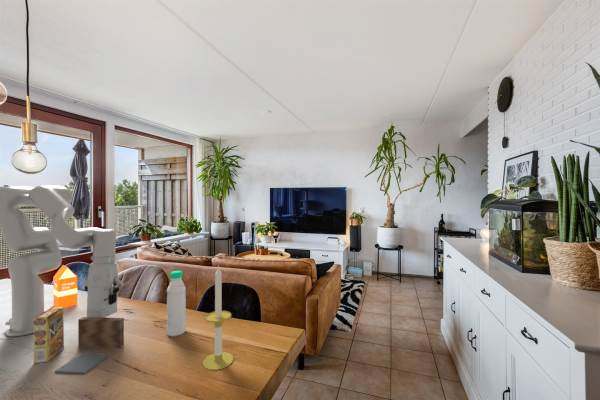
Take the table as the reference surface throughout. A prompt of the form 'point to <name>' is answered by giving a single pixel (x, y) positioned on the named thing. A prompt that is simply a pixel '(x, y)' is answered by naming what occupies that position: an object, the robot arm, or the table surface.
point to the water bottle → (176, 305)
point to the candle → (218, 329)
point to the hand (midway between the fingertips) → (102, 302)
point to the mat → (82, 363)
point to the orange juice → (65, 288)
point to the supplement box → (100, 302)
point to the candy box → (48, 334)
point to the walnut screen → (101, 332)
